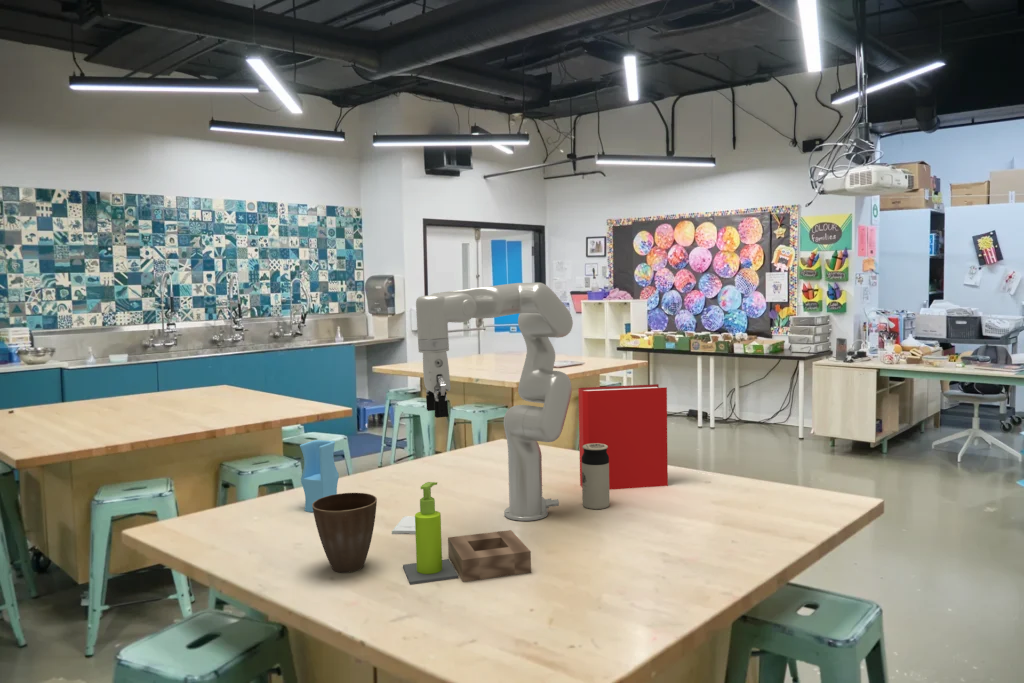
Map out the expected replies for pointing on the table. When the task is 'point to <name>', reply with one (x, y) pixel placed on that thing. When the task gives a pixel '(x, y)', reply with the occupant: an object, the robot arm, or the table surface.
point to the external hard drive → (405, 526)
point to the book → (627, 432)
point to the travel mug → (595, 476)
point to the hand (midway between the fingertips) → (437, 413)
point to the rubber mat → (417, 577)
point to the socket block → (488, 555)
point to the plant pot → (345, 528)
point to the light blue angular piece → (318, 471)
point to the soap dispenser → (428, 534)
